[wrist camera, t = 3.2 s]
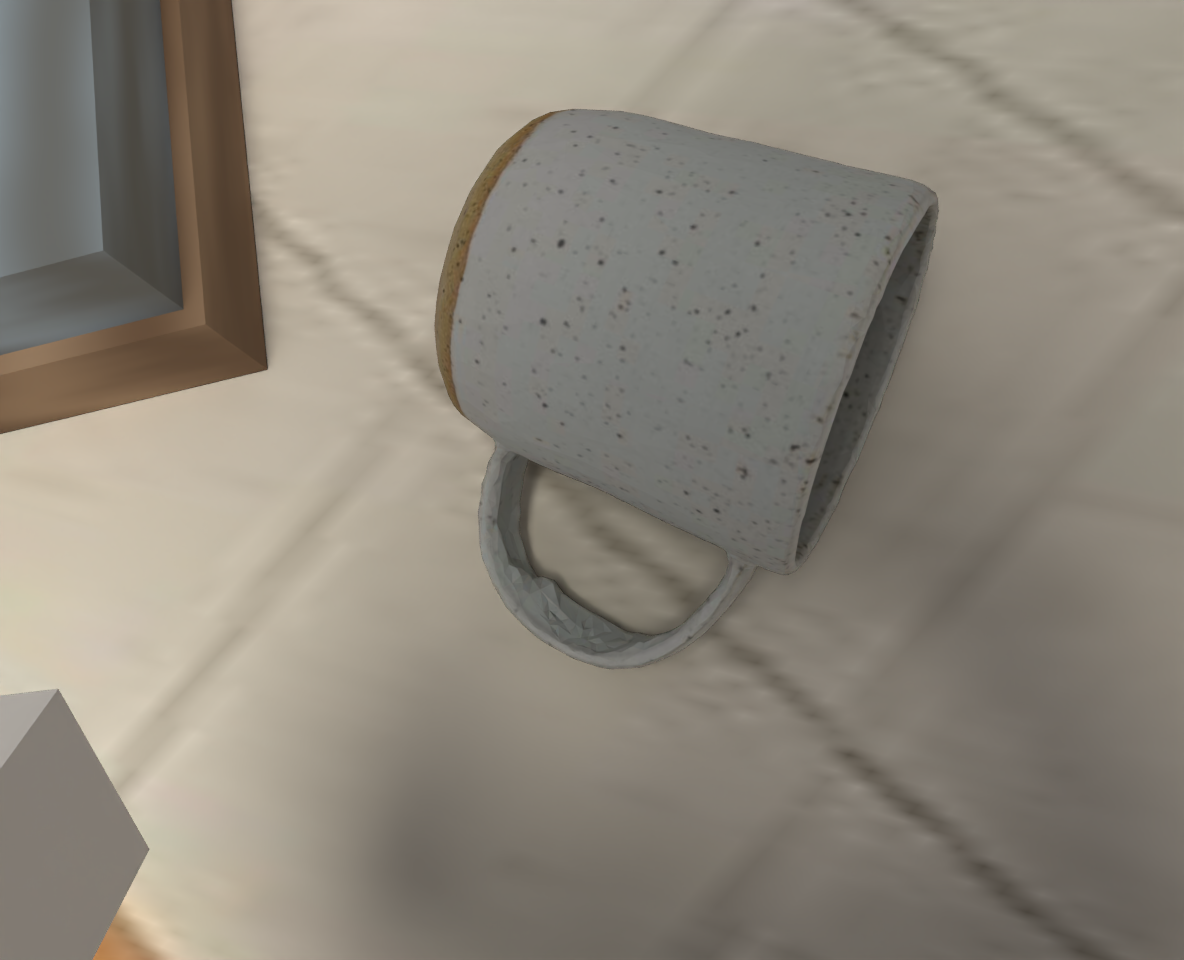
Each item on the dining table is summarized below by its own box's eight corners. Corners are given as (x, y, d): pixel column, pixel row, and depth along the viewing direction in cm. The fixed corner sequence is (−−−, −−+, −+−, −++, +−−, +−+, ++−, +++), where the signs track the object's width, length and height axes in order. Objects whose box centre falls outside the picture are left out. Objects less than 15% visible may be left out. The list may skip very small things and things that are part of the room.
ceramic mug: (600, 195, 27) (525, -9, 19) (924, 296, 25) (977, 110, 17) (424, 590, 25) (270, 532, 18) (752, 733, 23) (731, 734, 16)
